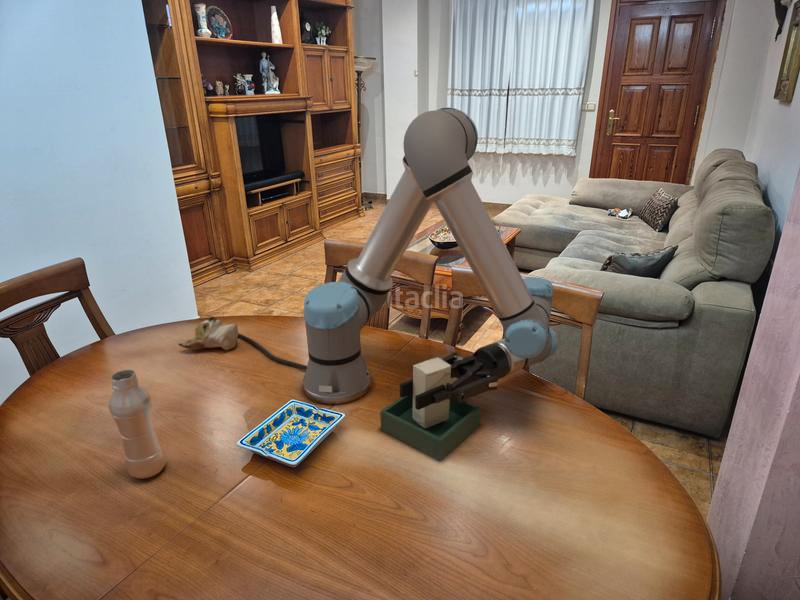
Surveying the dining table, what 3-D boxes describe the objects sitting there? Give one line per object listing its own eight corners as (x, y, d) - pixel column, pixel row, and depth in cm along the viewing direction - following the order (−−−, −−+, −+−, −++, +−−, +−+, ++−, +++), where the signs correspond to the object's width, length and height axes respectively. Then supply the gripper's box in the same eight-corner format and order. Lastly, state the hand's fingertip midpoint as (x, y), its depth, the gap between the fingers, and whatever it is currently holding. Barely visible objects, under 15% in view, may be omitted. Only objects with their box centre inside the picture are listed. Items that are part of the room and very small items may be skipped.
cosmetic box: (424, 429, 98) (425, 375, 94) (411, 418, 102) (411, 365, 97) (450, 418, 101) (452, 365, 97) (436, 408, 105) (438, 355, 100)
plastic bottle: (153, 486, 89) (128, 387, 81) (119, 481, 90) (91, 383, 82) (176, 461, 94) (153, 367, 87) (143, 456, 96) (119, 363, 88)
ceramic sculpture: (223, 327, 127) (171, 325, 130) (230, 358, 130) (179, 355, 133) (245, 310, 136) (195, 309, 140) (251, 339, 139) (202, 337, 143)
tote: (380, 430, 102) (380, 411, 100) (422, 399, 112) (422, 382, 110) (440, 461, 93) (440, 441, 92) (479, 425, 103) (480, 406, 101)
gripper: (528, 393, 103) (437, 436, 91) (469, 359, 116) (383, 393, 104) (530, 360, 100) (437, 401, 88) (470, 329, 113) (382, 361, 101)
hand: (408, 396), depth 96 cm, fingers closed on cosmetic box, 4 cm apart
